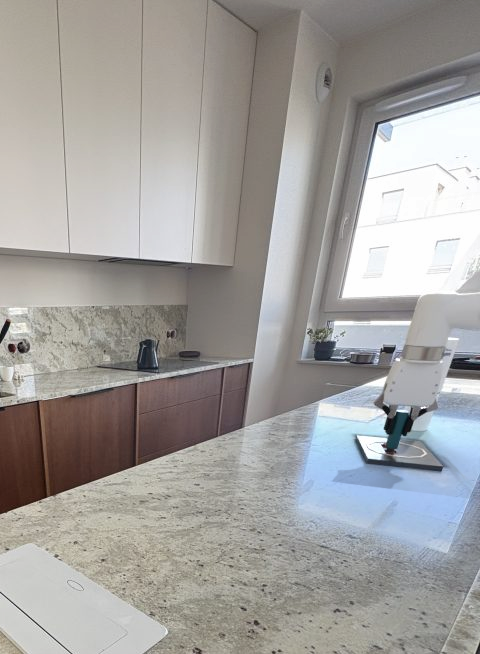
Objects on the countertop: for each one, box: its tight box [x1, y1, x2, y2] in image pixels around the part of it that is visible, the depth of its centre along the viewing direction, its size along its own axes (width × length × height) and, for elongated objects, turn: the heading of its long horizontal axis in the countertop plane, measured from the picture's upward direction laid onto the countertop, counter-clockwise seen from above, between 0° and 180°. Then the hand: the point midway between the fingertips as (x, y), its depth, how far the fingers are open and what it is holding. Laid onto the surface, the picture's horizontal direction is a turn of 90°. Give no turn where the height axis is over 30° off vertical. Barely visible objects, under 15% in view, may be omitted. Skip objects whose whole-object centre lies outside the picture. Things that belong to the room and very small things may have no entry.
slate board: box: [355, 435, 444, 472], centre depth 106 cm, size 15×20×1 cm
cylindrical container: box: [403, 337, 460, 432], centre depth 121 cm, size 7×7×25 cm
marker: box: [385, 409, 409, 452], centre depth 102 cm, size 3×3×10 cm
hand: (395, 433), depth 102 cm, fingers closed on marker, 2 cm apart
